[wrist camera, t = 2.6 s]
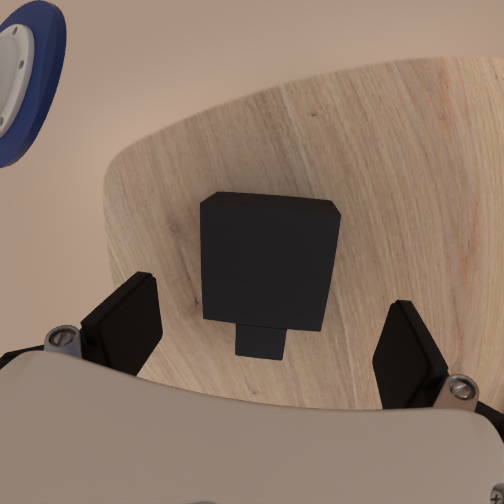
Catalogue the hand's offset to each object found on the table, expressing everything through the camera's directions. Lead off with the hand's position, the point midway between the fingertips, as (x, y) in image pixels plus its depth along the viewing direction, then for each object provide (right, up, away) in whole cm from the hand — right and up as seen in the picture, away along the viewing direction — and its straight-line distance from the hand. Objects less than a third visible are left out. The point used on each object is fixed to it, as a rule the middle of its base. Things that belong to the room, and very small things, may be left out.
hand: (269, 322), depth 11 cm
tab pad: (0, +2, +7) cm, 7 cm away
